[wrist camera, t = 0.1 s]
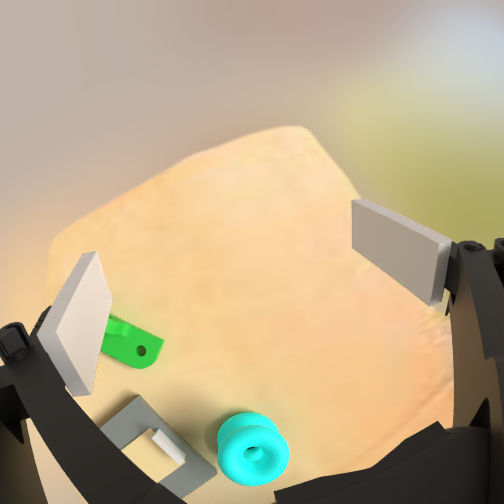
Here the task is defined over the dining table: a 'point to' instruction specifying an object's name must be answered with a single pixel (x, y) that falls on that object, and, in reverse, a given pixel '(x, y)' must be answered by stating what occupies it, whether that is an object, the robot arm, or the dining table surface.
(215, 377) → the dining table surface
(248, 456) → the donuts
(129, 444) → the grey square plate
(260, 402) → the dining table surface
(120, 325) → the mechanical part
